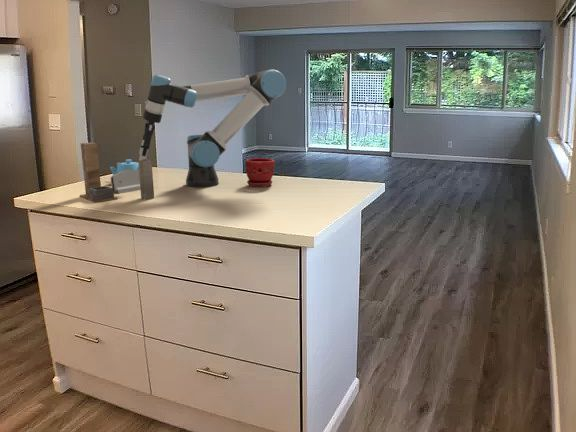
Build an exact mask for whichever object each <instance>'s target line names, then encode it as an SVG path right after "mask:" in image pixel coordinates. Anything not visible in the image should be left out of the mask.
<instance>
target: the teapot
mask: <svg viewBox="0 0 576 432" xmlns="http://www.w3.org/2000/svg"><path fill="white" fill-rule="evenodd" d="M116 167H117V168H116ZM116 167H114V166H110V168H109V169H110V171H111V173H112V176H113V175H115V174H117V173H119V172H122V171H126V170H138V171H139V164H138V161H137V162H135V161H132V159H131V158H130V159H125V162H116Z"/></svg>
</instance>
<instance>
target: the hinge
mask: <svg viewBox="0 0 576 432" xmlns="http://www.w3.org/2000/svg"><path fill="white" fill-rule="evenodd" d="M110 185H111V188H113V191H114V193H117V194H125V193H130V192H131V193H132V192H135V191H141V189H140V177H139V171H138V170H126V171H122V172H119V173H117V174H115V175H113V174H112V176H111V177H110Z"/></svg>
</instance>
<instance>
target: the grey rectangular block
mask: <svg viewBox="0 0 576 432" xmlns="http://www.w3.org/2000/svg"><path fill="white" fill-rule="evenodd" d="M137 163H138V164H139V177H140V189H141V190H140V198H141V199H143V200H151V199H155V190H154V189H155V188H154V175H153V162H152V159H150V158H149V159H148V158H146V159H143V160H139V159H138V161H137Z"/></svg>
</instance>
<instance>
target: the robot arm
mask: <svg viewBox="0 0 576 432" xmlns="http://www.w3.org/2000/svg"><path fill="white" fill-rule="evenodd" d="M286 89H287V80H286V78H285V76H284V74H283V73H282V72H280V71H279V70H277V69H266V70H261V71H259V72H256V73H252V74H246V75H245V76H244V77H239V78H233V79H232V78H231V79H227V80H219V81H211V82H206V83H205V82H204V83H198V84H197V83H195V84H191V85H184V86H183V85H182V86H181V85H176V84H173V83H172V79H171V78H170V77H168V76H165V75H163V74H162V75H161V74H154V75H153V77H152V79H151V83H150V86H149V91H148V96H147V100H146V101H145V102H144V104H145V109H144V110H143V111H144V112H143V115H142V117H143V119H144V120H145V121H147V122H145V123H144V133H143V136H142V141H141V144H140V148H139V152H138V154H139V157H138V158H139V159H138V160H143V159H147V158H148V157H147V156H148V153H149V149H150V146H151V141H152V137H153V135H154V130H155V127H156V126H155V123H156V124H160V123H161V120H162V117H163V115H162V114H163V113H164V109H165V106H166V103H167V102H168V103H169V102H170V103H173V104H175V105H176V104H177V105H180V106H183V107H185V108H193V107H194V106H195V105H196V103H197V102H203V101H204V102H205V101H210V100H218V99H224V98H225V99H226V98H232V97H238V96H244V97H243V98H242V99H241V100H240V101H239V102H238V103H237V104H236V105H235V106H234V107H233V108H232V109H231V110H230V111H229V113H228V114H226V115H225V117H224V118H223V119H222V120H221V121H220V122H219V123H218V124H217V125H216V126H214V128H213V129H212V130H206V131H205V132H204V134H192V135H188V136H187V139H186V140H187V141H186V144H187V157H188V171H187V173H186V174H187V175H186V179H185V185H186V186H187V187H192V188H202V187H203V188H204V187H213V186H217V185H219V184H220V183H219V177H218V174H217V172H216V168H215V164H216V163H217V162H218V161H219V158H220V156H221V155H222V154H224V152H226V150H227V144H229V142H230V141H231V140H232V139H233V138H234V137H235V136H236V135H237V134H238V133H239V132H240V131H241V130H242V129H243V128H244V127H245V126H246V124H248V122H249V121H250V120H251V119H253V117H255V115H256V114H257V113H258V112H260V110H261V109H262V108H263V107H264V106H270V104H272V103H273V102H274V101H275V99H277V98H279V97H282V96H283V94H284V93H285V91H286Z"/></svg>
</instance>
